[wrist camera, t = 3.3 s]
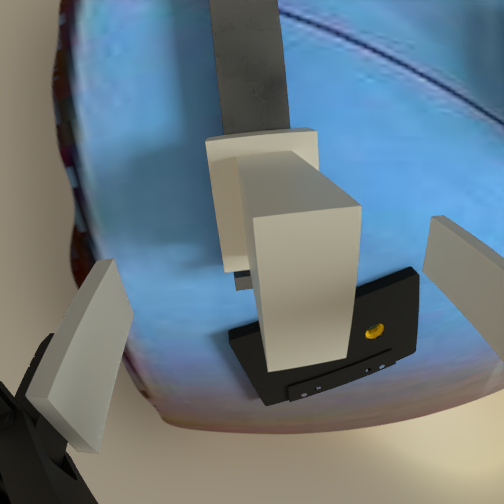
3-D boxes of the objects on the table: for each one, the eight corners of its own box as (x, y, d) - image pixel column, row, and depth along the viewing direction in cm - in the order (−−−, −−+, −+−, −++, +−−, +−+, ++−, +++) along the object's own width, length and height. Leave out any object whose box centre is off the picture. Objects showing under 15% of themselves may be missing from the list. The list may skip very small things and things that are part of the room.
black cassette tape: (263, 393, 33) (265, 408, 31) (226, 326, 27) (227, 343, 26) (408, 341, 32) (416, 354, 30) (409, 262, 26) (421, 274, 24)
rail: (197, -48, 12) (193, -71, 9) (270, -53, 13) (279, -75, 10) (233, 264, 24) (236, 290, 21) (297, 256, 24) (308, 280, 21)
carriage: (206, 137, 17) (188, 188, 7) (307, 127, 17) (408, 168, 8) (224, 257, 21) (231, 392, 11) (311, 245, 21) (376, 365, 11)
